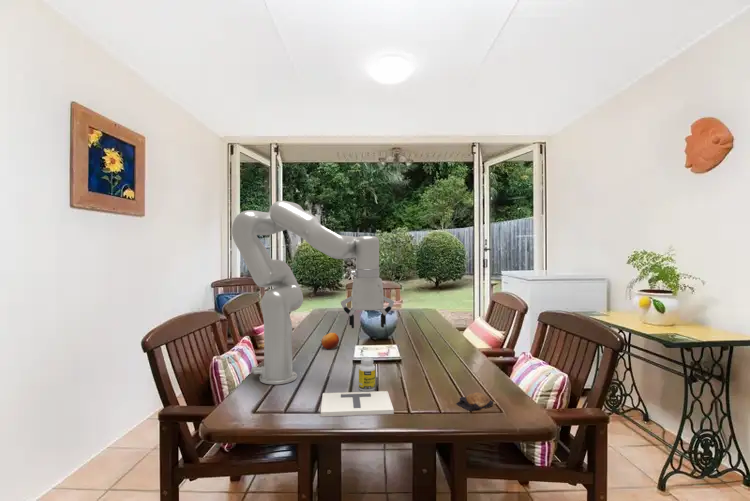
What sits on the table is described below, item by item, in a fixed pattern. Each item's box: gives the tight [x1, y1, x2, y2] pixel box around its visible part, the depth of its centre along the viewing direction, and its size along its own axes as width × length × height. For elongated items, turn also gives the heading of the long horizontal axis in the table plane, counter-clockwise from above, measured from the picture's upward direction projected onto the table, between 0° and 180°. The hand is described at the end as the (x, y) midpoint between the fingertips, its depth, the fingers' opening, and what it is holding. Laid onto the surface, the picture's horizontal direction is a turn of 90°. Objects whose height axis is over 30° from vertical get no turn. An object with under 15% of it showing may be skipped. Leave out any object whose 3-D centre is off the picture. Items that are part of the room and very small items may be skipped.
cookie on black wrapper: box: [456, 392, 497, 413], centre depth 118 cm, size 11×8×4 cm
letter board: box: [320, 390, 395, 418], centre depth 117 cm, size 20×14×1 cm
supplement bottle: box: [358, 356, 376, 392], centre depth 130 cm, size 5×5×10 cm
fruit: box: [320, 332, 340, 350], centre depth 181 cm, size 8×8×8 cm
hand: (367, 327), depth 130 cm, fingers open, 9 cm apart
